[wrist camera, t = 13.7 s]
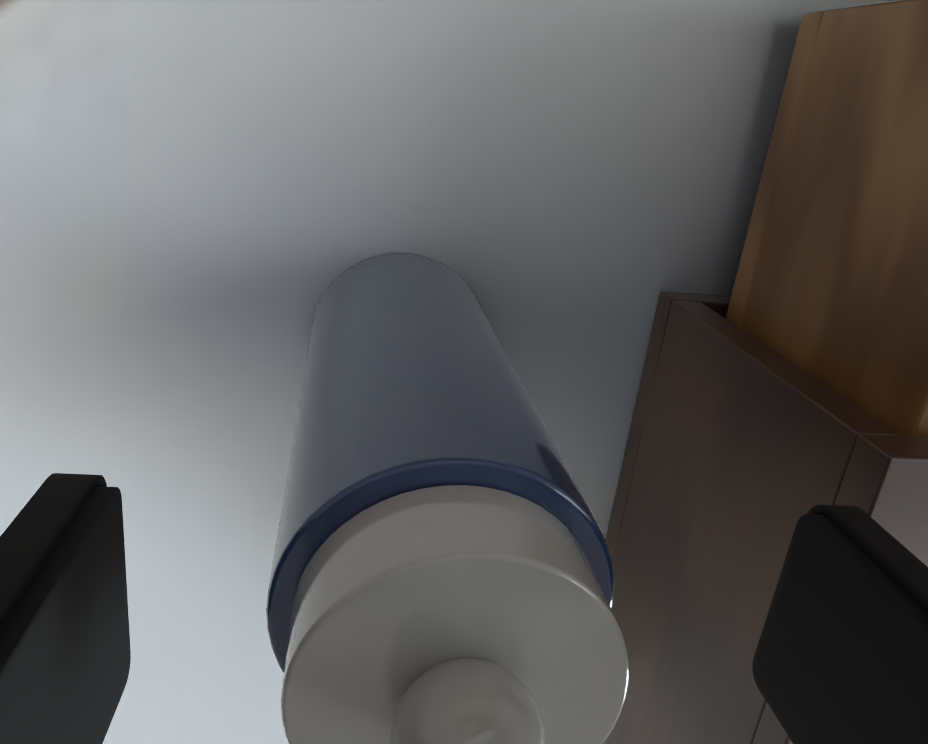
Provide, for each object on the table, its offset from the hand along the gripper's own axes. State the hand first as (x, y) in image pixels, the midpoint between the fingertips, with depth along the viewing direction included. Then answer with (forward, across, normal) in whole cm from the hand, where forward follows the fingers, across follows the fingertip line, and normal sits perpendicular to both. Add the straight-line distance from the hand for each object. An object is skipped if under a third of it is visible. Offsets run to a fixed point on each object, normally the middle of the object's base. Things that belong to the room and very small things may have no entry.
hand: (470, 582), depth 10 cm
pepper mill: (+10, +1, 0) cm, 10 cm away
